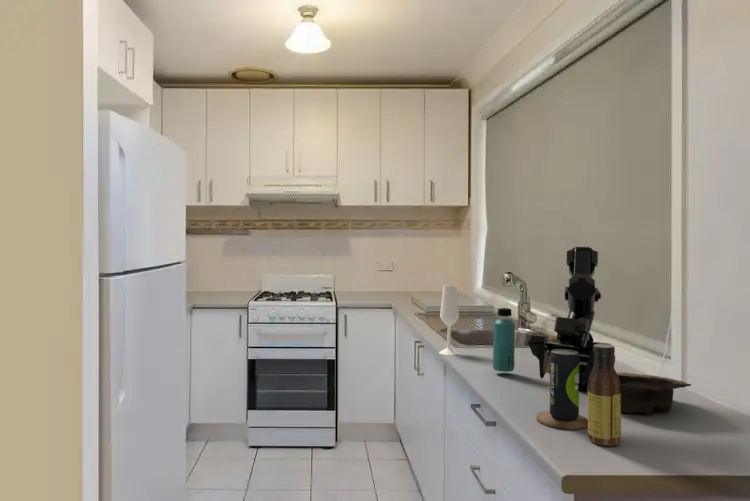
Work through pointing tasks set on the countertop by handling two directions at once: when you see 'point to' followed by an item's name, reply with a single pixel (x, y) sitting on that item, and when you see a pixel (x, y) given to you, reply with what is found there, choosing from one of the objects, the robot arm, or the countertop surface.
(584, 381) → the robot arm
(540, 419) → the walnut coaster
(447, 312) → the champagne flute
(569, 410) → the beverage can
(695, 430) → the countertop surface
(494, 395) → the countertop surface
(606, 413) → the sauce bottle
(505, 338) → the beverage bottle
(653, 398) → the stone bowl
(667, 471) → the countertop surface
